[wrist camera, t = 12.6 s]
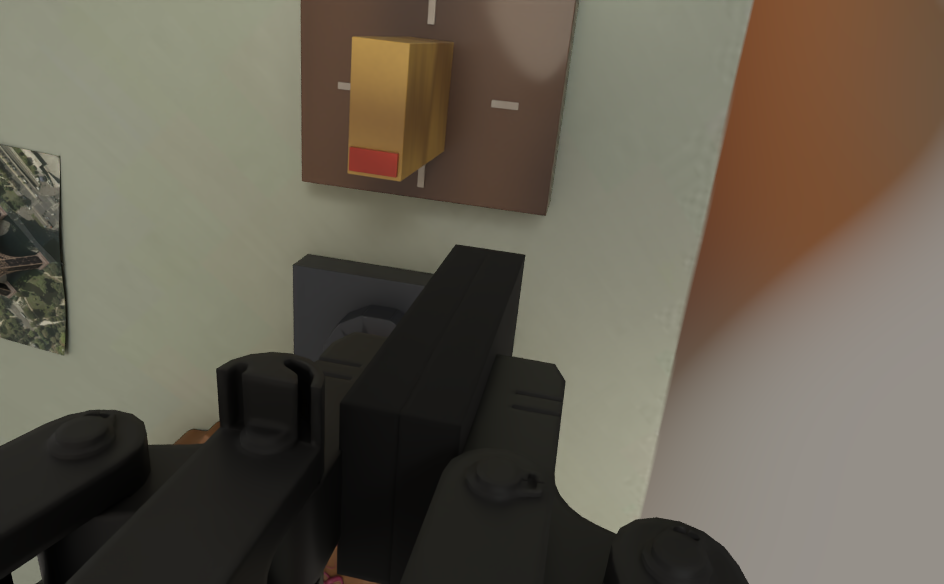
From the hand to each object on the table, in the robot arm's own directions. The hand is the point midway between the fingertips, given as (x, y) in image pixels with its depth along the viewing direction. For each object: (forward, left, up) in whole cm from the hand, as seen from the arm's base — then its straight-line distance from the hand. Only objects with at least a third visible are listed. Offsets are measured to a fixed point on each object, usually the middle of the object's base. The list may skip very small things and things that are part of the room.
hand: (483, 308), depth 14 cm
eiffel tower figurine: (+38, +12, -25) cm, 47 cm away
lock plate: (+7, -2, -24) cm, 25 cm away
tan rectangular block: (+7, -2, -21) cm, 23 cm away
